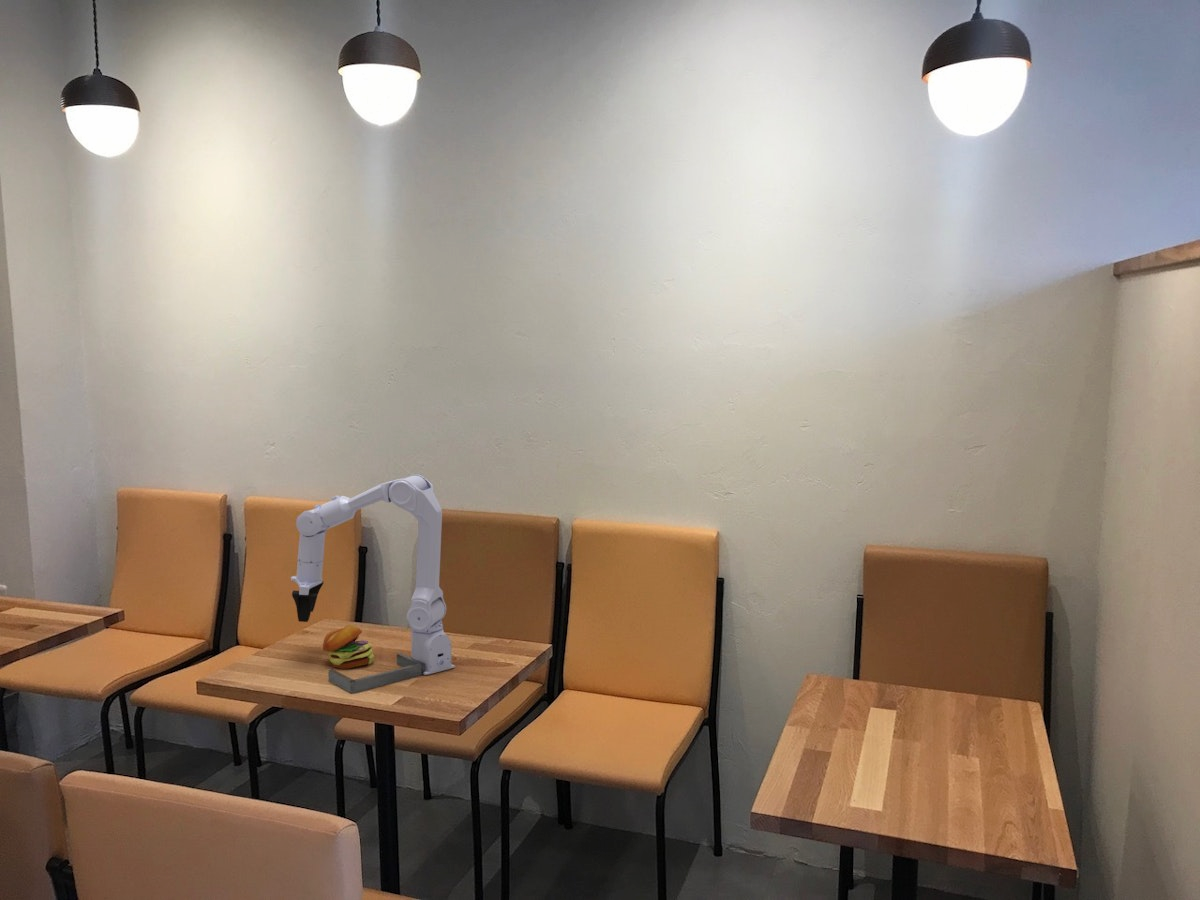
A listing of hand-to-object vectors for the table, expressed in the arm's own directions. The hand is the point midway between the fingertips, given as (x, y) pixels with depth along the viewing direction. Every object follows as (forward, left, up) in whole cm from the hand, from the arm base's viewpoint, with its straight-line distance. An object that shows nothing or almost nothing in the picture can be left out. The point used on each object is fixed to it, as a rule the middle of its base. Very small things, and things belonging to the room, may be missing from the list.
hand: (305, 616), depth 220 cm
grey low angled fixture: (-23, -5, -10) cm, 26 cm away
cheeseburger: (-10, -5, -10) cm, 16 cm away
